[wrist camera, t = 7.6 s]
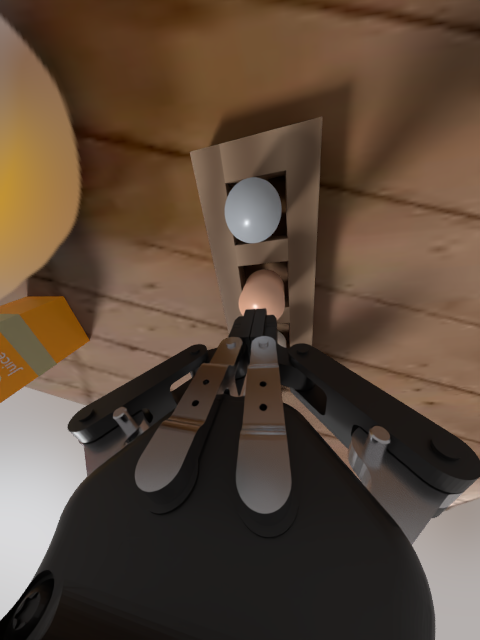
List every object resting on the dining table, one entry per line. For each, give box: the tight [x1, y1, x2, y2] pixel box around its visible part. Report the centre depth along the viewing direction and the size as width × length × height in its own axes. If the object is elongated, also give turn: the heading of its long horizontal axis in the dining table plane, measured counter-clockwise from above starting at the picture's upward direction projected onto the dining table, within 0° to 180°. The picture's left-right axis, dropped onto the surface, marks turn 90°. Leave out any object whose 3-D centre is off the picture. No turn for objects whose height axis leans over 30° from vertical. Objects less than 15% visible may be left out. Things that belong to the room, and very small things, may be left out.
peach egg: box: [238, 269, 285, 320], centre depth 18 cm, size 4×4×4 cm
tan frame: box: [190, 116, 323, 348], centre depth 21 cm, size 10×24×3 cm, turn 9°
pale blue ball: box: [225, 177, 281, 243], centre depth 15 cm, size 4×4×4 cm
